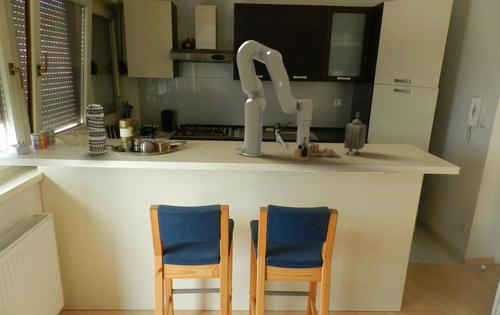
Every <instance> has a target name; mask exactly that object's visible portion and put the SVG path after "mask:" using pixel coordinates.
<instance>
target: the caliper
mask: <svg viewBox="0 0 500 315" xmlns="http://www.w3.org/2000/svg"><path fill="white" fill-rule="evenodd" d="M276 142H277V143H280V144H281V145H282V147H283V149H287V148H288V147H287V145H286V143H285V142H284V140H283V139H282V137H281V135H280V133H279V132H278V133H277V135H276Z"/></svg>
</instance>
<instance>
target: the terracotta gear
mask: <svg viewBox="0 0 500 315" xmlns="http://www.w3.org/2000/svg"><path fill="white" fill-rule="evenodd" d="M301 151H302V149H298V148H296V149H295V150H294V155H293V157H294V159H295V160H297V161H308V160H309V157H308V156H307V157H301ZM308 155H309V151H308Z"/></svg>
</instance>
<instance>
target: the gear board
mask: <svg viewBox="0 0 500 315" xmlns="http://www.w3.org/2000/svg"><path fill="white" fill-rule="evenodd" d="M319 146H320V144H319V143H316V142H313V141H312V142H311V139H309V144H308V151H309V155H308V158H333V159H334V158H335V159H339V158H340V154H338V153H337V152H336V151H335V150H333V149H331V148H330V149H328V147H326V146H325V147H323V148H322V149H321V148H319Z"/></svg>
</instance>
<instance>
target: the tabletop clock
mask: <svg viewBox="0 0 500 315" xmlns="http://www.w3.org/2000/svg"><path fill="white" fill-rule="evenodd" d="M359 117H360V111H356V114H355V119H354V120H352V122H349V123H348V124H347V125H346V127H345V136H344V144H343V145H344V148H345V149H348V151H346V152H345V156H348V155H349V154H350V153H349V152H353V150H355V151H356V153H355V154H356V155H359V154H360V153H359V151H358V150H361V149H363V148H364V147H365V145H366V138H367V137H366V136H367V130H368V129H367V128H368V126H367V125H366V124H364V123H362V121H361V120H360V119H359Z"/></svg>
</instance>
